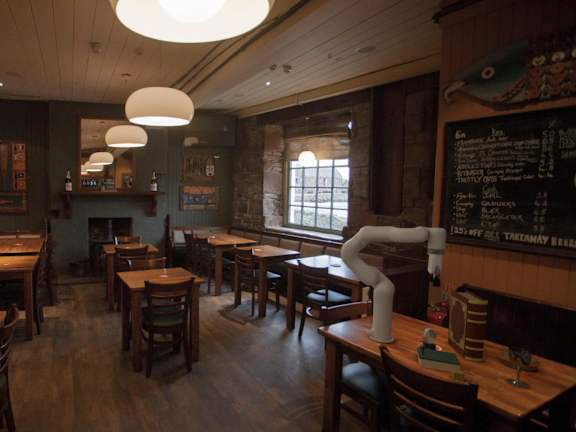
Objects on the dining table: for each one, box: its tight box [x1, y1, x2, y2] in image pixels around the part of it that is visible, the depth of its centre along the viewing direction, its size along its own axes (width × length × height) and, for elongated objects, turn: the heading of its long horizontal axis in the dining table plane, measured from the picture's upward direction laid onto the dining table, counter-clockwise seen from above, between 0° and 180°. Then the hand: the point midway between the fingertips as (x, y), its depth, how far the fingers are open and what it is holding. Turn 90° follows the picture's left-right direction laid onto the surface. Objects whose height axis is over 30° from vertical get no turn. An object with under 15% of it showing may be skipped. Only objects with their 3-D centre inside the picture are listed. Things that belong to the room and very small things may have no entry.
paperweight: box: [451, 369, 465, 382], centre depth 172 cm, size 4×4×4 cm
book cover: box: [416, 341, 461, 366], centre depth 186 cm, size 16×13×5 cm
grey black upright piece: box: [419, 327, 438, 350], centre depth 204 cm, size 6×8×11 cm
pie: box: [498, 350, 542, 372], centre depth 186 cm, size 16×16×5 cm
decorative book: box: [447, 289, 489, 363], centre depth 200 cm, size 22×8×30 cm, turn 168°
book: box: [417, 355, 461, 373], centre depth 187 cm, size 16×13×4 cm
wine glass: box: [506, 346, 533, 389], centre depth 168 cm, size 8×8×15 cm
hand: (434, 284), depth 202 cm, fingers open, 9 cm apart
